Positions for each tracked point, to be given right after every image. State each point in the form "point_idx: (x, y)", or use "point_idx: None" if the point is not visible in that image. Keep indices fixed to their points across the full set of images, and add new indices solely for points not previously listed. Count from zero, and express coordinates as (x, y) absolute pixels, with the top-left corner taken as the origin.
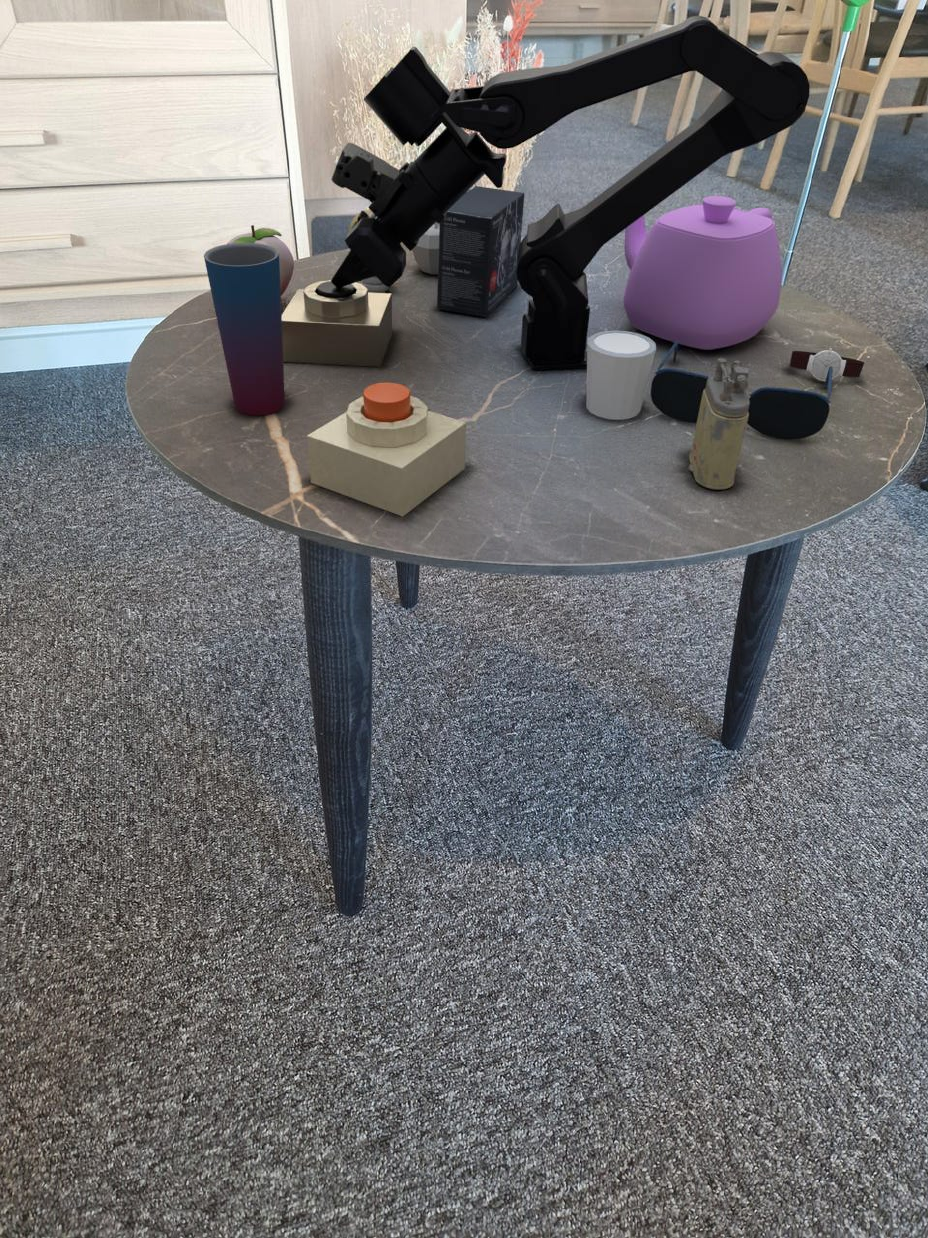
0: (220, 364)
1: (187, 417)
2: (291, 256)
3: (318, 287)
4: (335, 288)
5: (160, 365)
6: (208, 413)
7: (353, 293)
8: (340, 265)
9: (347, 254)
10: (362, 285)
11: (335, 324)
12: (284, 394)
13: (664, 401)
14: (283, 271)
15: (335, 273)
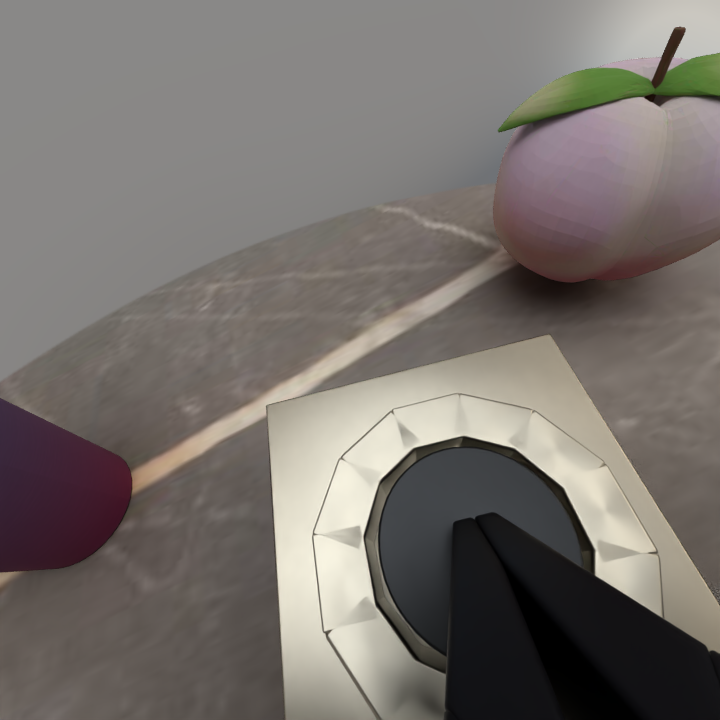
0: (266, 341)
1: (46, 402)
2: None
3: (424, 460)
4: (451, 552)
5: (244, 269)
6: None
7: None
8: (526, 579)
9: (613, 672)
10: None
11: (279, 629)
12: (63, 561)
13: None
14: (642, 238)
15: (467, 551)
